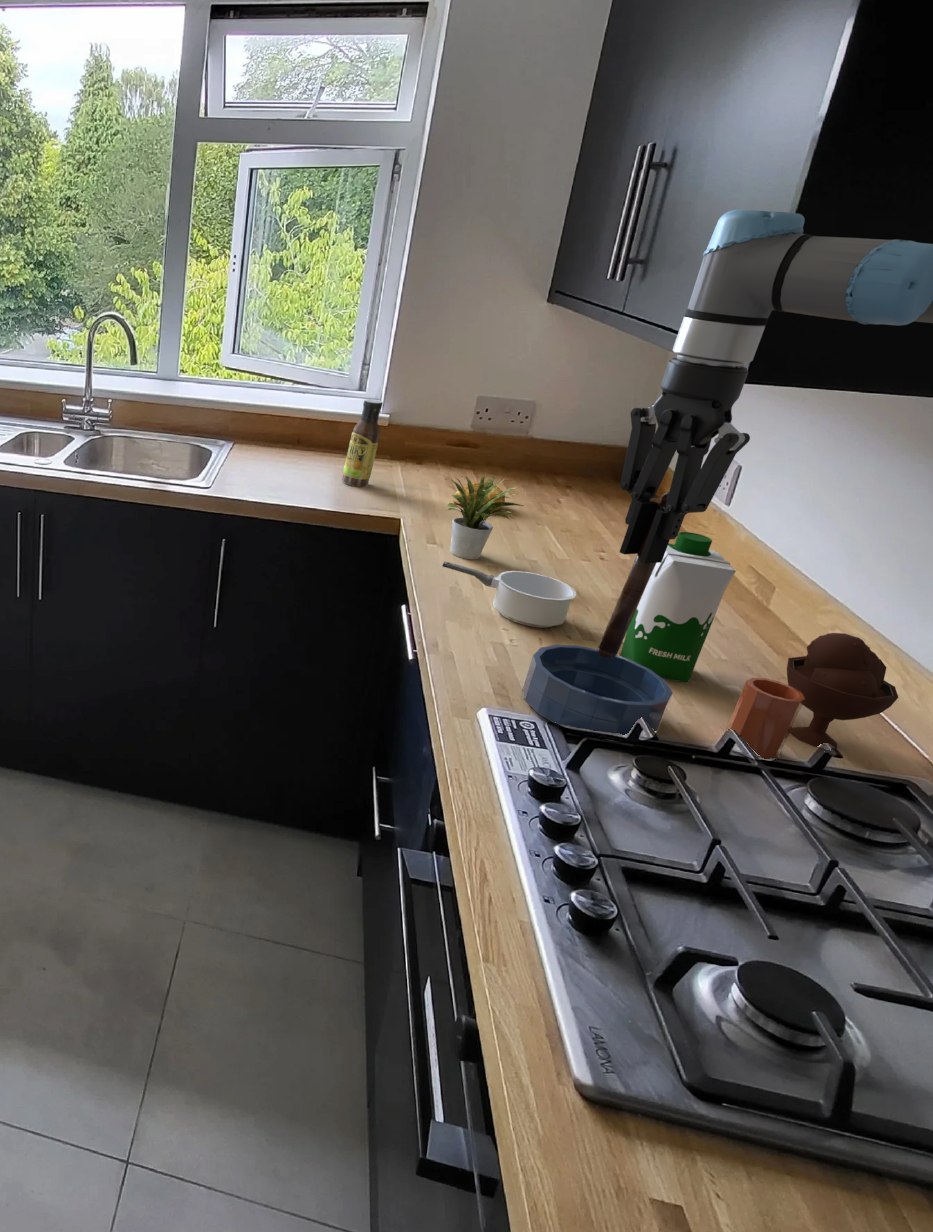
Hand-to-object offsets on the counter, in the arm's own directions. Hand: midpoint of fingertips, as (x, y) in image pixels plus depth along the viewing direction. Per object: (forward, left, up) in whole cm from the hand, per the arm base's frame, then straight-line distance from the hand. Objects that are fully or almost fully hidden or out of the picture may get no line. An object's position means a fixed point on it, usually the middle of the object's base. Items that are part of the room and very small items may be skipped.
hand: (640, 556), depth 108 cm
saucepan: (+32, -5, -22) cm, 39 cm away
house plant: (+57, -10, -22) cm, 62 cm away
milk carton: (+13, -18, -22) cm, 31 cm away
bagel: (+90, -29, -22) cm, 97 cm away
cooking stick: (0, 0, -14) cm, 14 cm away
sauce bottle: (+102, -5, -22) cm, 104 cm away
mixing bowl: (0, 0, -22) cm, 22 cm away
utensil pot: (-8, -16, -22) cm, 28 cm away
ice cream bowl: (-5, -27, -22) cm, 35 cm away
